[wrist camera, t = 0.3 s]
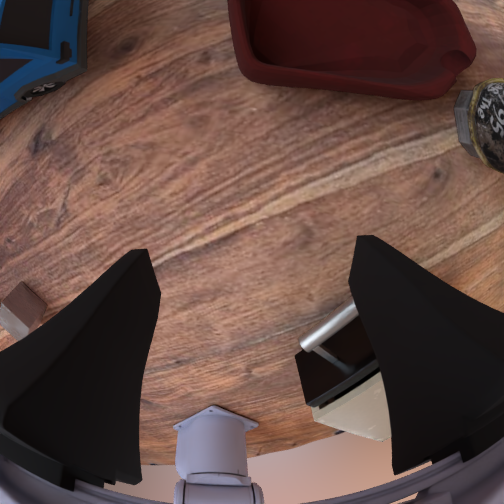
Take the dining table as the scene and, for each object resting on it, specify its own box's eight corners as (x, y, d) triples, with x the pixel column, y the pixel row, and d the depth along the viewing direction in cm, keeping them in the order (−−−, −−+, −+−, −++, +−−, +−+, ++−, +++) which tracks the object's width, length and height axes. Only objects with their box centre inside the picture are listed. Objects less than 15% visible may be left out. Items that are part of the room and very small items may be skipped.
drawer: (263, 335, 23) (270, 388, 18) (376, 239, 20) (415, 278, 15) (362, 396, 30) (376, 431, 25) (440, 338, 26) (462, 370, 21)
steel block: (40, 323, 23) (24, 346, 19) (15, 301, 22) (-2, 322, 18) (47, 304, 22) (29, 328, 18) (21, 280, 20) (1, 302, 17)
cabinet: (298, 358, 26) (314, 420, 19) (406, 272, 22) (451, 323, 16) (366, 398, 32) (382, 441, 25) (444, 338, 28) (472, 378, 21)
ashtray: (147, 17, 12) (122, -9, 8) (298, -82, 7) (310, -112, 3) (338, 172, 18) (370, 188, 14) (451, 55, 13) (490, 50, 9)
